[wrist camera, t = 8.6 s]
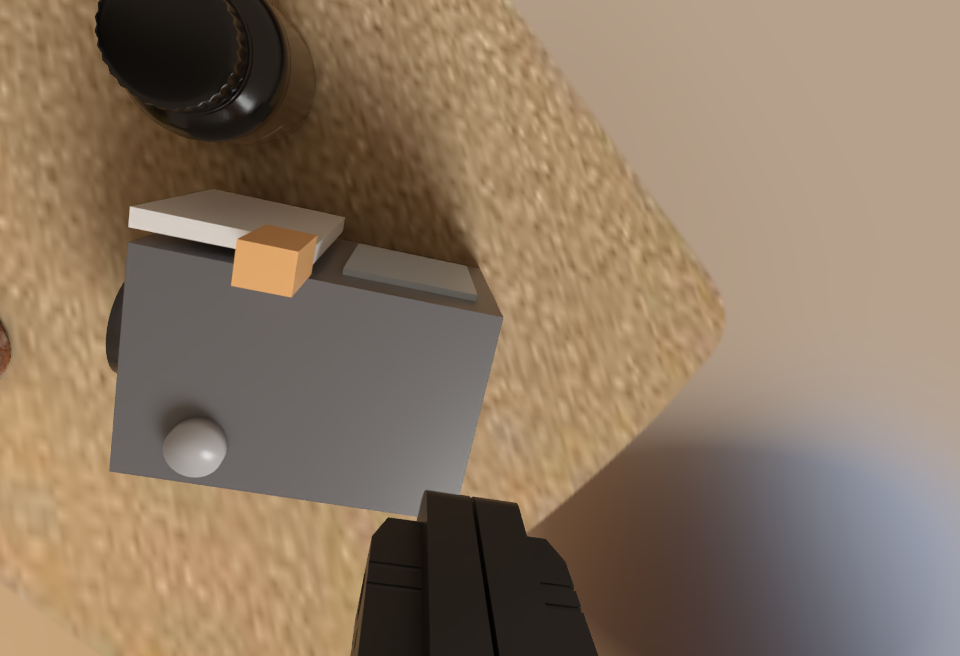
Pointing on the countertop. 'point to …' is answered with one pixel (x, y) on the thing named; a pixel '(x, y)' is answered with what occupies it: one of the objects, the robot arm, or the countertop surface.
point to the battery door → (247, 234)
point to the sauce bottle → (4, 351)
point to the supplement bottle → (209, 66)
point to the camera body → (301, 374)
